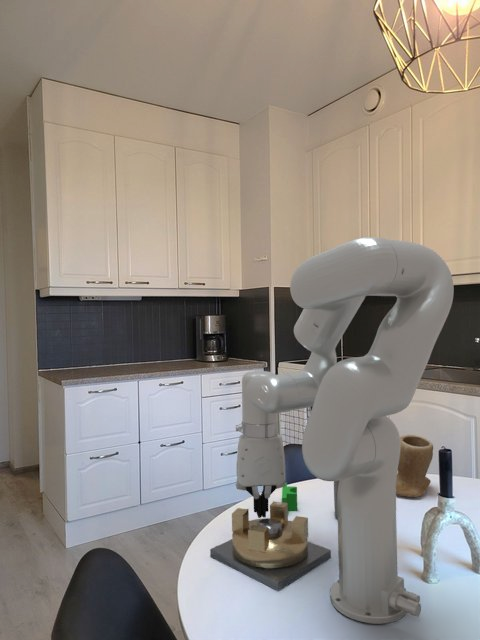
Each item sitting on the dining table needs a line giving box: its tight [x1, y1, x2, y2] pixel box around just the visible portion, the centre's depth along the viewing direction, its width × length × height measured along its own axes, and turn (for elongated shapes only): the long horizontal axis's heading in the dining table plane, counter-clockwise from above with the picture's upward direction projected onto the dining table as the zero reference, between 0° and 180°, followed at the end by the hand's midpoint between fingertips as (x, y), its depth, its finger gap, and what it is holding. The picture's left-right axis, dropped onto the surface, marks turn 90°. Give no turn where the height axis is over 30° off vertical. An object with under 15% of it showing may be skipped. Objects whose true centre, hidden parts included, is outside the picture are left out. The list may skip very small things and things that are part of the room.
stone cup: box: [396, 434, 434, 498], centre depth 130 cm, size 15×12×15 cm
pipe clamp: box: [281, 482, 298, 512], centre depth 121 cm, size 11×4×5 cm, turn 174°
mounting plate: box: [209, 539, 332, 592], centre depth 95 cm, size 18×16×2 cm
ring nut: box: [231, 500, 309, 568], centre depth 95 cm, size 15×15×7 cm
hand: (261, 514), depth 102 cm, fingers closed
